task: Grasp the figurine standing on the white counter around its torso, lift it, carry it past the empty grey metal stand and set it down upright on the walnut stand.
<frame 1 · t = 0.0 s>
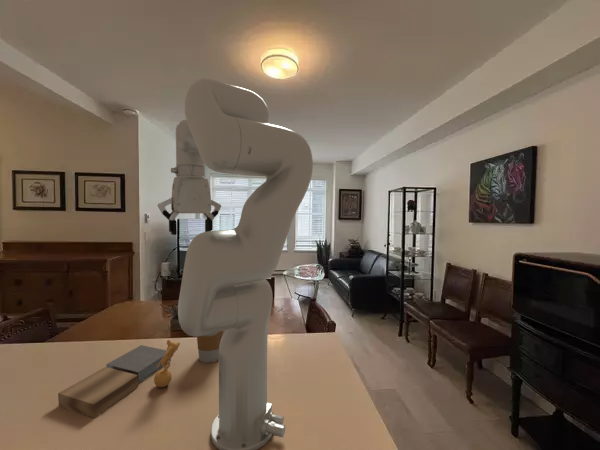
hand: (191, 233, 81), 37 cm above the kitchen counter, tool pointing down, fingers open, 9 cm apart
figurine: (166, 386, 71), on the kitchen counter
walnut stand: (100, 395, 67), on the kitchen counter
coffee cup: (210, 358, 84), on the kitchen counter
grey metal stand: (140, 367, 78), on the kitchen counter
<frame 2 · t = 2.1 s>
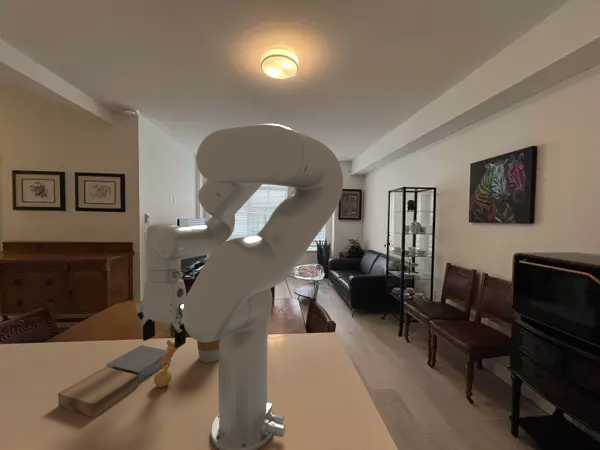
hand: (164, 341, 70), 11 cm above the kitchen counter, tool pointing down, fingers open, 9 cm apart
nothing on the kitchen counter moved.
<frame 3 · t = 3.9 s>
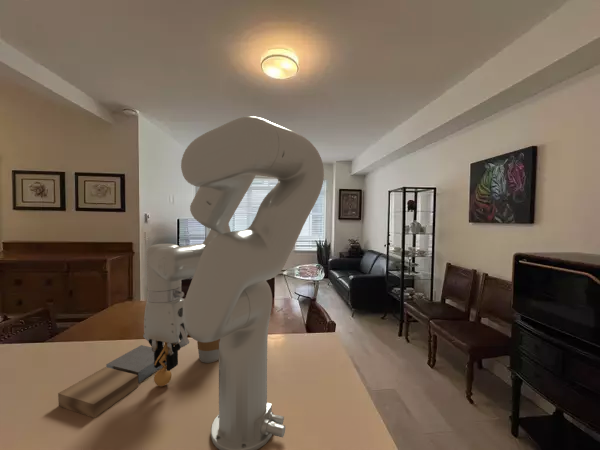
hand: (166, 365, 70), 5 cm above the kitchen counter, tool pointing down, fingers closed on figurine, 3 cm apart
figurine: (167, 385, 71), on the kitchen counter, touching gripper
everything else where it was.
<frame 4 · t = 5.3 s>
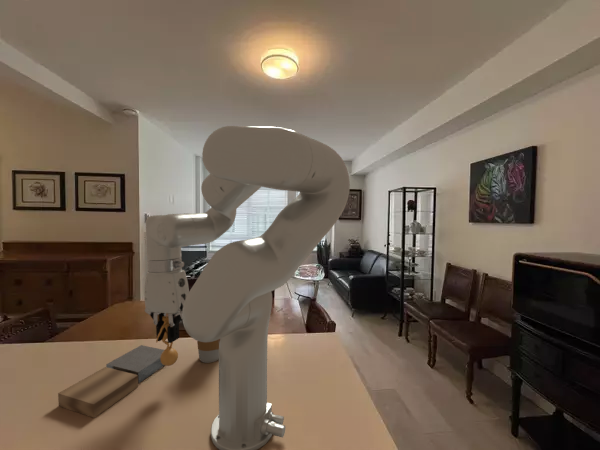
hand: (168, 339, 69), 12 cm above the kitchen counter, tool pointing down, fingers closed on figurine, 2 cm apart
figurine: (175, 364, 69), point 6 cm above the kitchen counter, touching gripper
everything else where it was.
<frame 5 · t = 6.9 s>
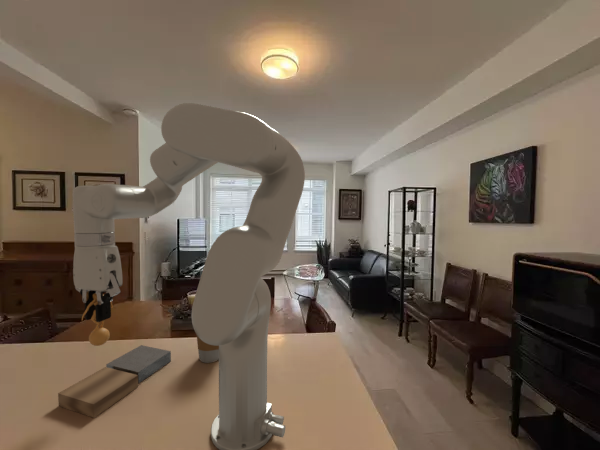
hand: (98, 318, 66), 19 cm above the kitchen counter, tool pointing down, fingers closed on figurine, 2 cm apart
figurine: (105, 344, 66), point 13 cm above the kitchen counter, touching gripper
everything else where it was.
when the fingers open (10 cm above the kitchen counter, at t = 9.1 s): figurine stays where it is, resting on walnut stand.
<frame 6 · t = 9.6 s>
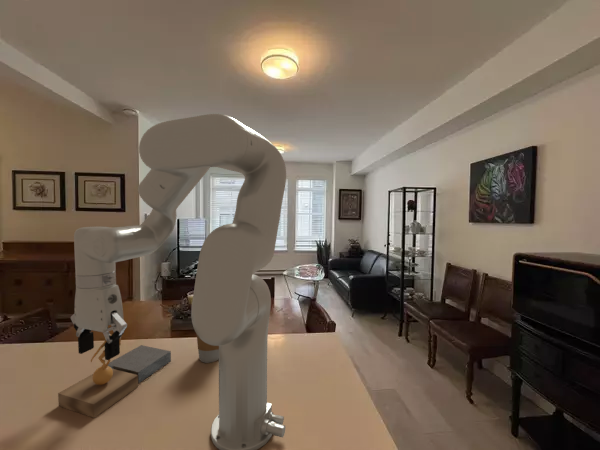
hand: (99, 353, 66), 10 cm above the kitchen counter, tool pointing down, fingers open, 7 cm apart
figurine: (107, 384, 66), point 3 cm above the kitchen counter, touching walnut stand
everything else where it was.
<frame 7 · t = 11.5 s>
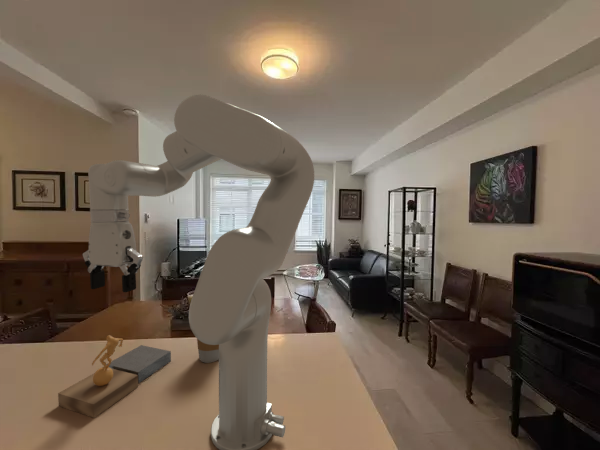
hand: (113, 289, 67), 25 cm above the kitchen counter, tool pointing down, fingers open, 9 cm apart
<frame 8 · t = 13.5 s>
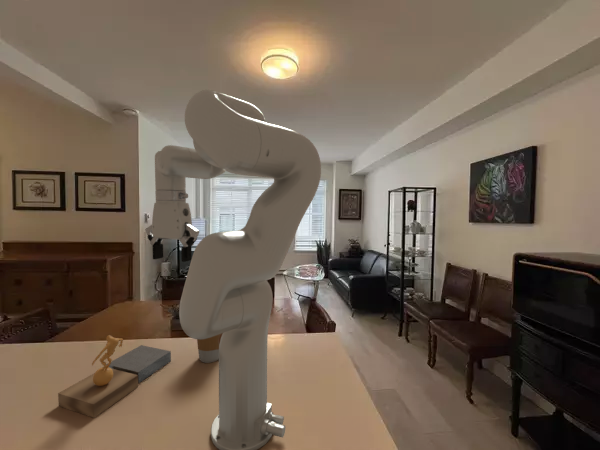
hand: (172, 259, 78), 30 cm above the kitchen counter, tool pointing down, fingers open, 9 cm apart
nothing on the kitchen counter moved.
at the end: figurine inside the target area on the walnut stand (2.0 cm from its centre), point 2.8 cm above the walnut stand's base; figurine tilted 0°; the gripper is holding nothing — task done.
